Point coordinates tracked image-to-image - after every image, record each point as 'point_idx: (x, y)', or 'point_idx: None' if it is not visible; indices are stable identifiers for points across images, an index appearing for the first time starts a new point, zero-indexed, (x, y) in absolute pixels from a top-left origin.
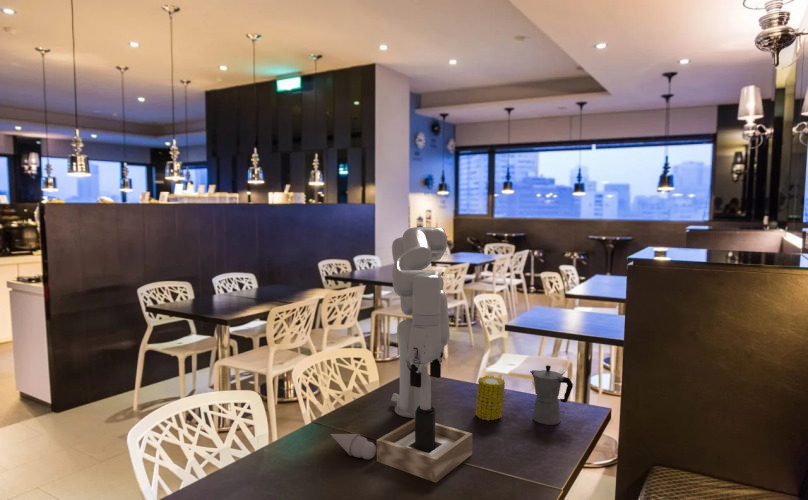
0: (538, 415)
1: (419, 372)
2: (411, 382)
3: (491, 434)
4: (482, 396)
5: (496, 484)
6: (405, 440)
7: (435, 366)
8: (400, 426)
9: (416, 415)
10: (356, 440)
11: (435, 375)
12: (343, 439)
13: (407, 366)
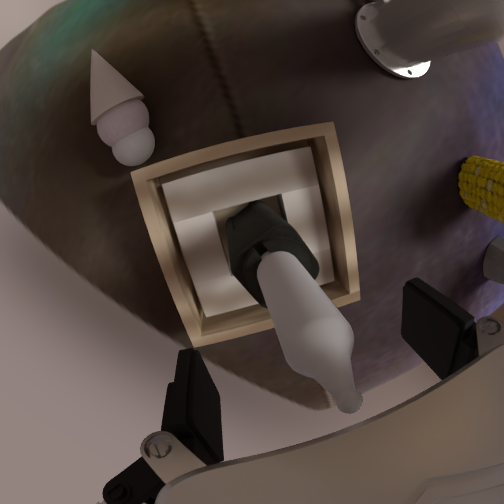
0: (492, 261)
1: (212, 463)
2: (169, 385)
3: (425, 239)
4: (493, 191)
5: (279, 371)
6: (231, 179)
7: (440, 353)
8: (248, 137)
9: (230, 263)
10: (102, 125)
11: (407, 322)
12: (90, 94)
13: (104, 488)
